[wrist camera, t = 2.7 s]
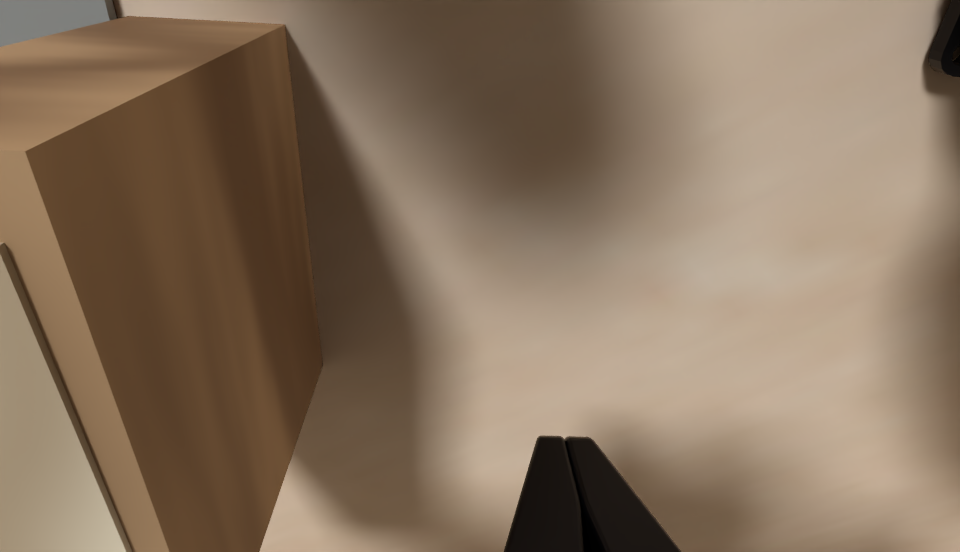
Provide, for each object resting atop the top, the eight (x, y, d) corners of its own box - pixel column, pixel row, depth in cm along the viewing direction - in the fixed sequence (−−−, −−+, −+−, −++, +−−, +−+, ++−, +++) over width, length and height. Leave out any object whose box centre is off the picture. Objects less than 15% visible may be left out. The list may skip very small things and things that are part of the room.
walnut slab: (285, 24, 13) (18, 154, 5) (322, 364, 18) (213, 685, 10) (129, 15, 13) (-379, 137, 5) (211, 361, 18) (15, 684, 10)
